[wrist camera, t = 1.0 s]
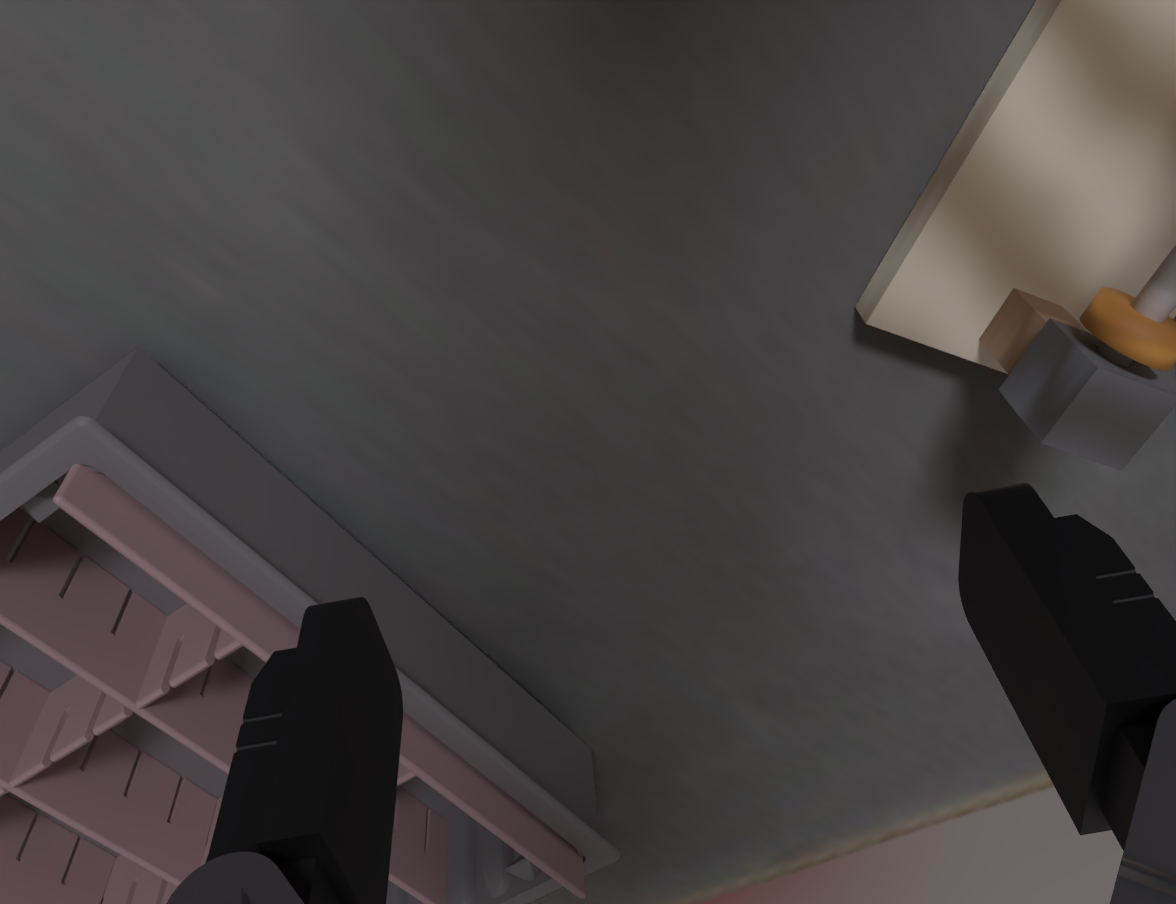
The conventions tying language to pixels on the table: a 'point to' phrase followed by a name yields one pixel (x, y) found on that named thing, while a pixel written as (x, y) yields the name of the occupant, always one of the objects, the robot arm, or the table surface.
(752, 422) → the table surface
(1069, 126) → the cable board
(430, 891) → the organizer tray
